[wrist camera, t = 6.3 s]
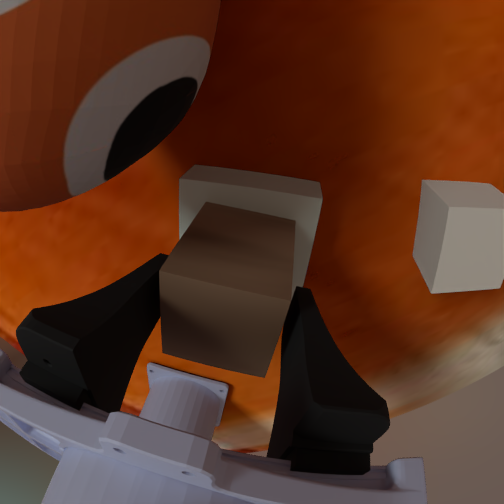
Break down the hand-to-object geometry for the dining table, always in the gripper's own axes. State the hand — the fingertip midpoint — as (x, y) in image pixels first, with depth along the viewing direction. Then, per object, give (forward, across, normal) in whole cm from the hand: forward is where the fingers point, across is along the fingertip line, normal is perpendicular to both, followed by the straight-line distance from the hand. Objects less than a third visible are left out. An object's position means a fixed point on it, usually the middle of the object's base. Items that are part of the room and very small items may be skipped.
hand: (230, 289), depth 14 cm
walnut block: (+3, 0, 0) cm, 3 cm away
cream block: (+6, -12, -4) cm, 14 cm away
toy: (+6, +7, -16) cm, 18 cm away
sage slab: (+6, 0, 0) cm, 6 cm away
